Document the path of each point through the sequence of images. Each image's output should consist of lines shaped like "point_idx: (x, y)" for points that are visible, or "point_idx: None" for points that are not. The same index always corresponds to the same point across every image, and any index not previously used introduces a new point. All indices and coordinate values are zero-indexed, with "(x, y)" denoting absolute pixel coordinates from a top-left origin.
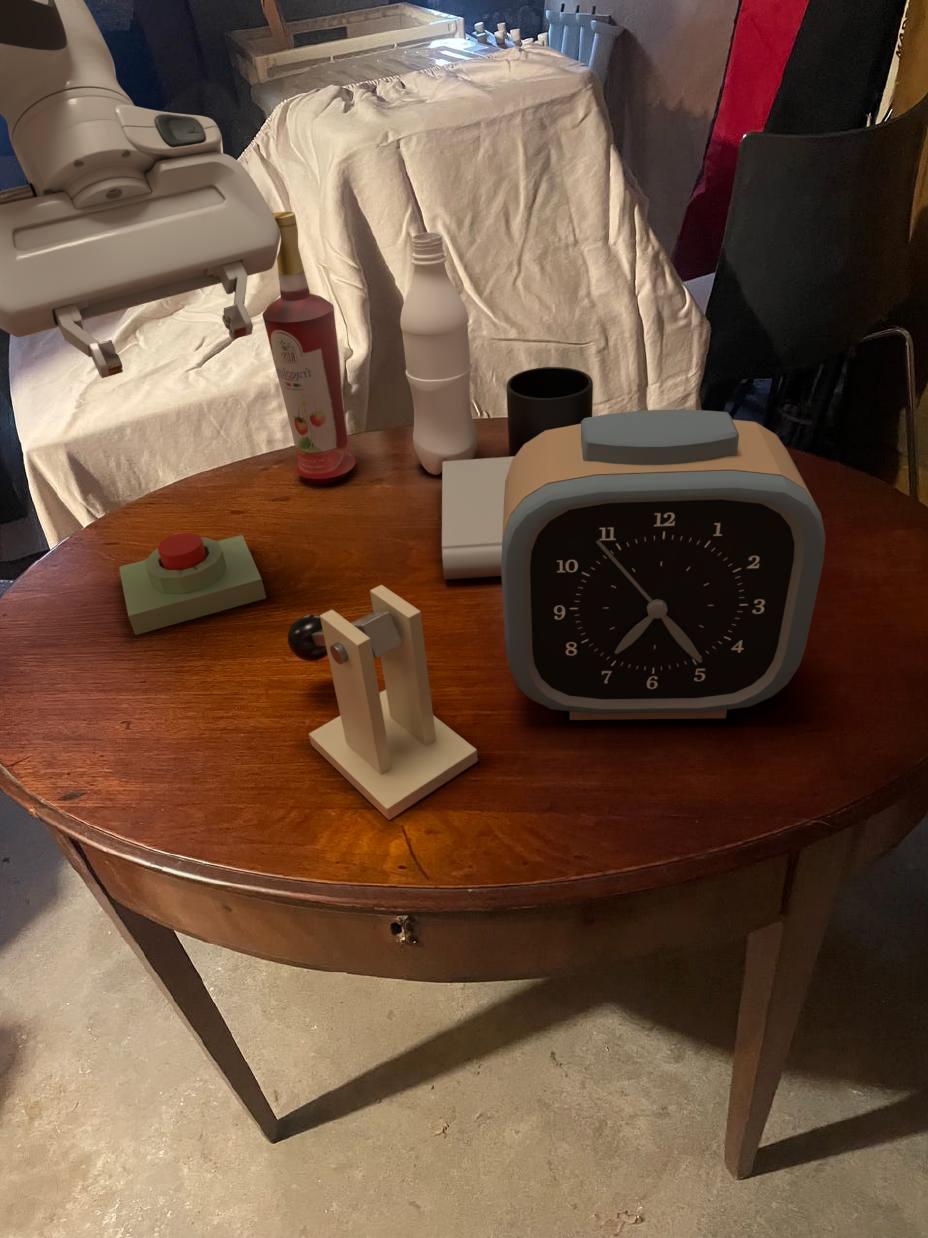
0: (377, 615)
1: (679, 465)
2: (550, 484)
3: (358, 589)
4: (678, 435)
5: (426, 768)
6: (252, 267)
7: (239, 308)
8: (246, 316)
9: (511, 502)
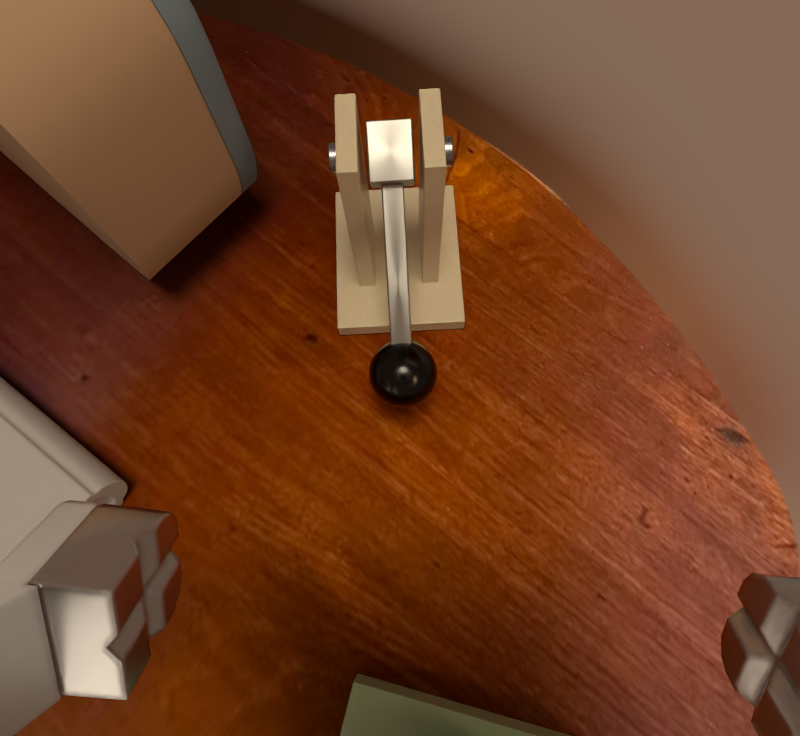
0: (380, 130)
1: None
2: None
3: (232, 581)
4: None
5: None
6: None
7: (43, 555)
8: (59, 518)
9: (115, 15)
